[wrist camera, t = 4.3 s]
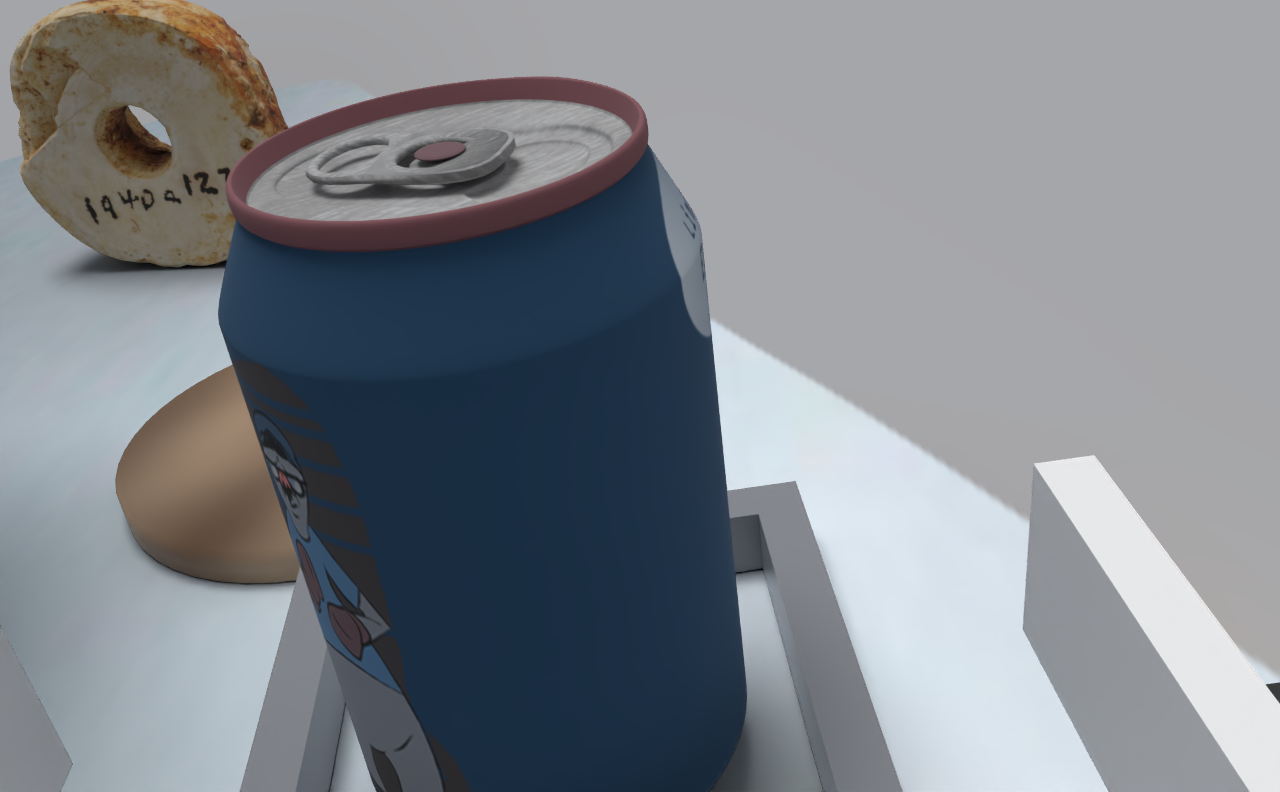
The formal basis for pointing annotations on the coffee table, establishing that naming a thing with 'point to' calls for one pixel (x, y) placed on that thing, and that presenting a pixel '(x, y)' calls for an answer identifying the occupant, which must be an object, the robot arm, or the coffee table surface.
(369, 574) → the soda can
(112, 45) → the stone disc
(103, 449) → the coffee table surface
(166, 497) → the coaster
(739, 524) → the can holder
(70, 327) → the coffee table surface
